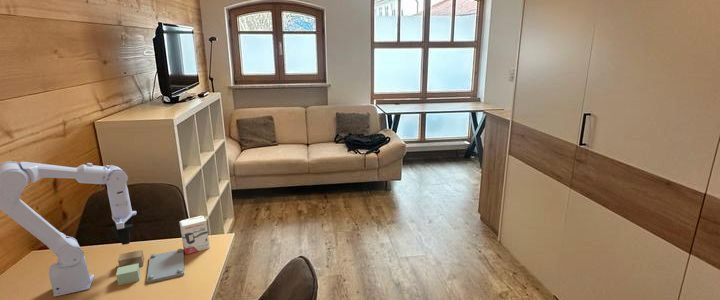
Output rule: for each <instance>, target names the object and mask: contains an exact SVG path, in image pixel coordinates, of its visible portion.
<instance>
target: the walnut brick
mask: <svg viewBox="0 0 720 300" xmlns="http://www.w3.org/2000/svg"><path fill="white" fill-rule="evenodd" d="M117 261H118V266H119V267H123V266H128V265H133V264H138V263H139V268H140V267H143V266H144V263H145V255H144V250H143V249H139V250H134V251H130V252H129V251H128V252H124V253H120V254H119V257H118V259H117ZM119 267H118V268H119Z"/></svg>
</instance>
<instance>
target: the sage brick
mask: <svg viewBox="0 0 720 300" xmlns="http://www.w3.org/2000/svg"><path fill="white" fill-rule="evenodd" d="M115 277H116V281H117V286H121V285H126V284H127V285H128V284H131V283H136V282H140V278H141V270H140V267H139V263H138V264H133V265H128V266H123V267H117V269H116V273H115Z"/></svg>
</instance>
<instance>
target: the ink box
mask: <svg viewBox="0 0 720 300" xmlns="http://www.w3.org/2000/svg"><path fill="white" fill-rule="evenodd" d="M178 224H179V227H180V228H179V229H180V234H181V239H182V246H183V248H182V249H183V250H184V254H185V255H186V256H187V255H191V254H194V253H197V252H200V251H204V250H207V249H210V248H211V246H210V240H209V233H208V232H209V231H208V225H207V219H206V217H205V216H204V215H199V216H194V217H190V218H185V219H182V220H180V221H179V223H178Z"/></svg>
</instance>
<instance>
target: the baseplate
mask: <svg viewBox="0 0 720 300" xmlns="http://www.w3.org/2000/svg"><path fill="white" fill-rule="evenodd" d="M146 276H147V277H146V284H150V283H156V282H161V281H165V280H168V279H173V278H178V277H182V276H185V251H184V248H178V249H177V250H176V249H175V250H173V251H172V250H171V251H167V252H162V253H157V254H156V253H152V254H151V255H150V256H149V260H148V269H147V275H146Z"/></svg>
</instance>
